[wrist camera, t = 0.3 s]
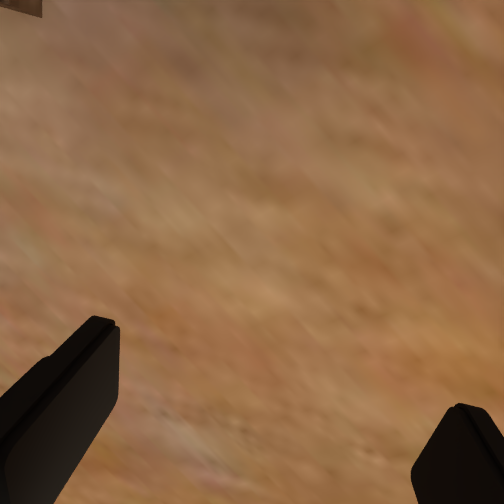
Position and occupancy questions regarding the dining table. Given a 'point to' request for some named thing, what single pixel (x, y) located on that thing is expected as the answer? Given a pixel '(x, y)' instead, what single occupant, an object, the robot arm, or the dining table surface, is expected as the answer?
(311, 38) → the dining table surface
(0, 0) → the wooden tray
